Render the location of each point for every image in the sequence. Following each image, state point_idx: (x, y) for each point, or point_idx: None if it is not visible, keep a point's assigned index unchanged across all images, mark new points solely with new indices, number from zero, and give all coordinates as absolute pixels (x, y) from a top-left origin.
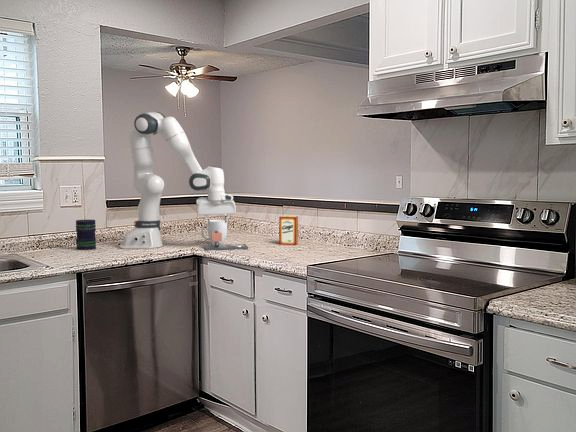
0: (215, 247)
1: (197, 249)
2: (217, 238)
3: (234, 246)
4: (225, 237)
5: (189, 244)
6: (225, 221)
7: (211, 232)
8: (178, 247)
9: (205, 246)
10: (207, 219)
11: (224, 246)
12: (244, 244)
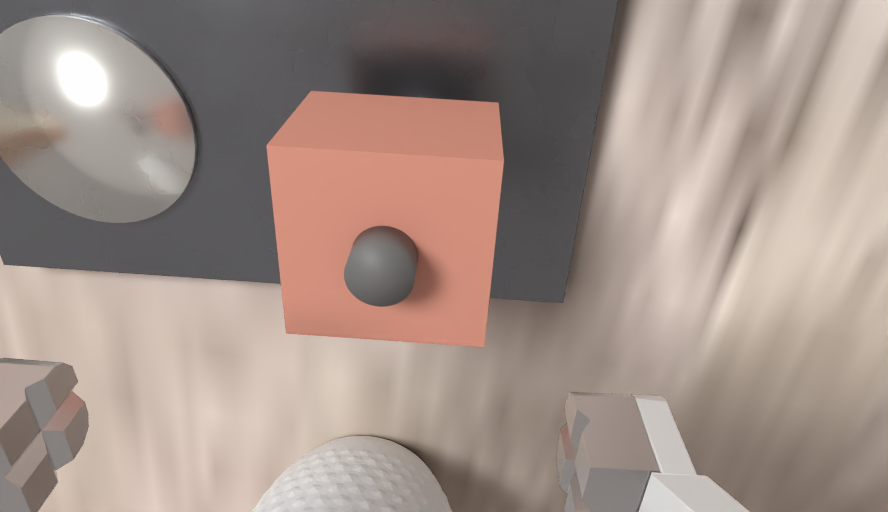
0: (445, 13)
1: (709, 113)
2: (387, 111)
3: (125, 35)
4: (258, 503)
5: None
6: (19, 376)
7: (483, 317)
8: (882, 341)
9: (582, 164)
10: (676, 490)
11: (291, 96)
12: (6, 227)
